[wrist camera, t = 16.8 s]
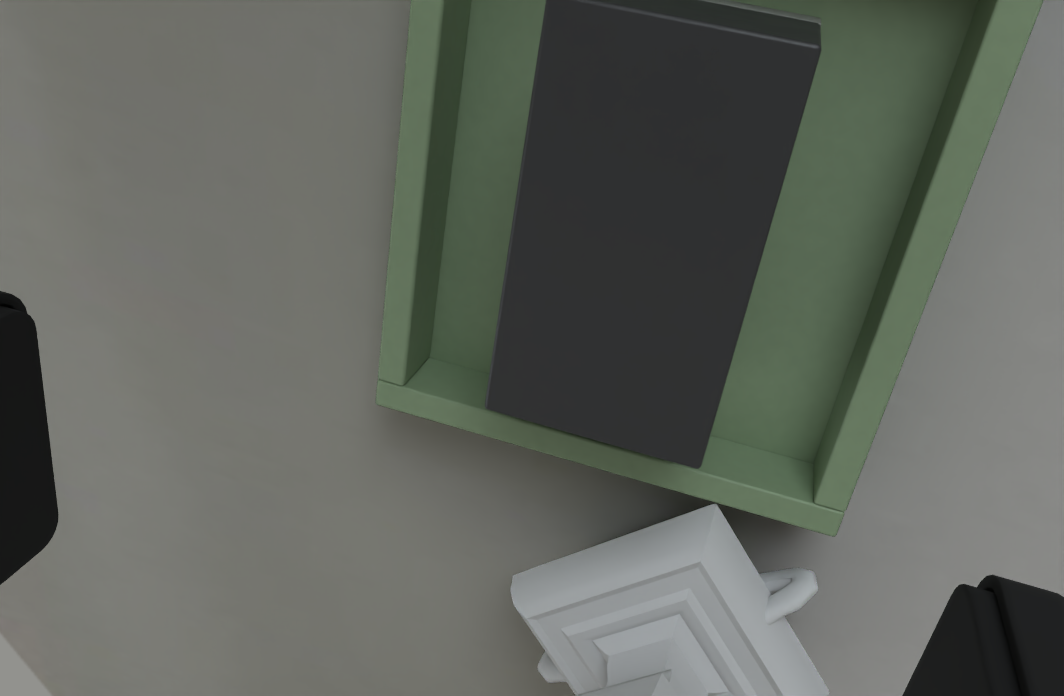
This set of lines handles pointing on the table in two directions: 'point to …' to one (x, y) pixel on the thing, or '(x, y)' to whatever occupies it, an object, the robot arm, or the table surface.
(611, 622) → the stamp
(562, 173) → the eraser
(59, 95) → the table surface
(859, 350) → the tray
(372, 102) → the table surface
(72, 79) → the table surface
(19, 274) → the table surface
